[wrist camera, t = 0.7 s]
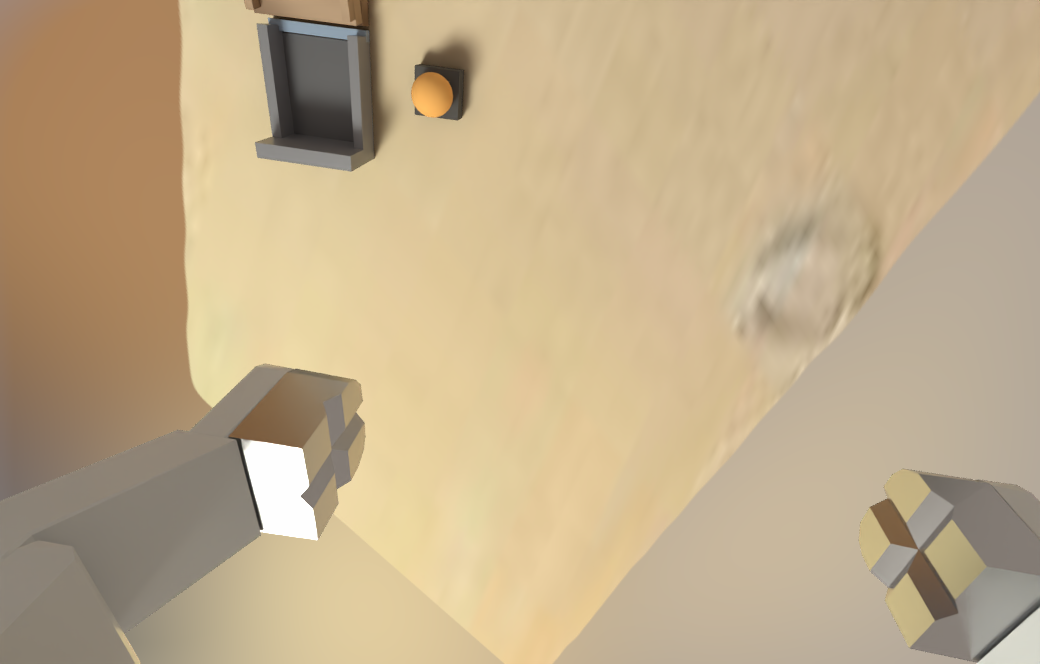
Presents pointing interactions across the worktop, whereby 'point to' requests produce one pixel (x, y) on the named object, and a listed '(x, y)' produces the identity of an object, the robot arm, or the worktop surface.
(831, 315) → the worktop surface
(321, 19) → the launch ramp
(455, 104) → the square nut
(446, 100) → the ball
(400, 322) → the worktop surface
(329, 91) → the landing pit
